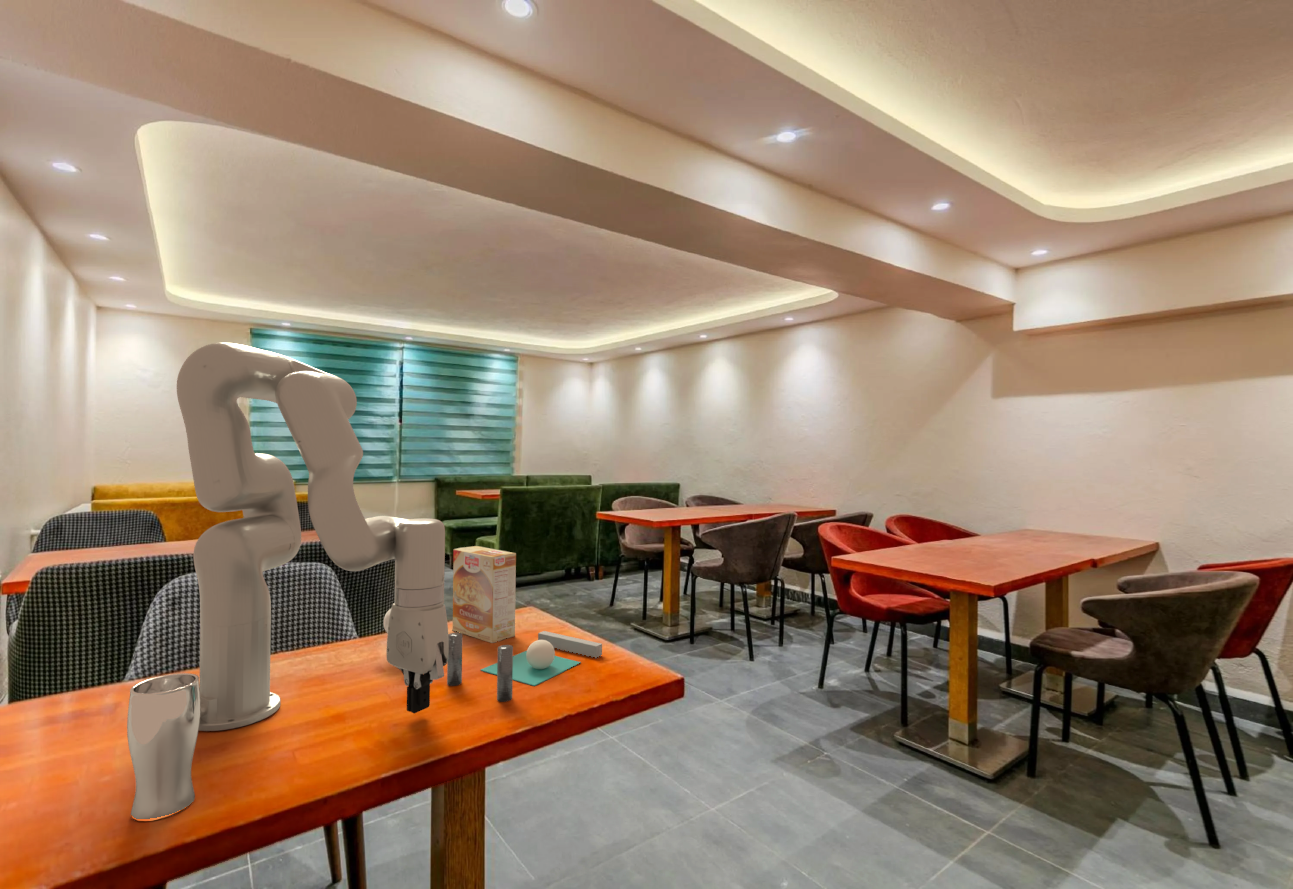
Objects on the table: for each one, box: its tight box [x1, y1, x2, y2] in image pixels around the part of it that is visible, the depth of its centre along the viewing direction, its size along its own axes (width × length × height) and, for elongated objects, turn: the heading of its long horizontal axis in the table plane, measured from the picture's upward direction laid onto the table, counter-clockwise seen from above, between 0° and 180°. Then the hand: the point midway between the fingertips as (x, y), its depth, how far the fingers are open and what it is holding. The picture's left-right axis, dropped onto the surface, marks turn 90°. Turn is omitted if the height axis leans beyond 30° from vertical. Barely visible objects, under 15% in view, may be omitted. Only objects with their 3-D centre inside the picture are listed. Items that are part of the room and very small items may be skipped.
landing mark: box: [480, 650, 582, 687], centre depth 120 cm, size 14×14×1 cm
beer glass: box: [126, 672, 201, 819], centre depth 73 cm, size 7×7×15 cm
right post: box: [496, 644, 514, 703], centre depth 105 cm, size 3×3×9 cm
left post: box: [446, 632, 463, 687], centre depth 112 cm, size 3×3×9 cm
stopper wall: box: [537, 630, 603, 659], centre depth 131 cm, size 2×16×2 cm, turn 59°
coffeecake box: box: [451, 545, 517, 644], centre depth 141 cm, size 15×7×20 cm, turn 53°
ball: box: [526, 639, 556, 669], centre depth 120 cm, size 6×6×6 cm
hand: (418, 709), depth 97 cm, fingers closed
